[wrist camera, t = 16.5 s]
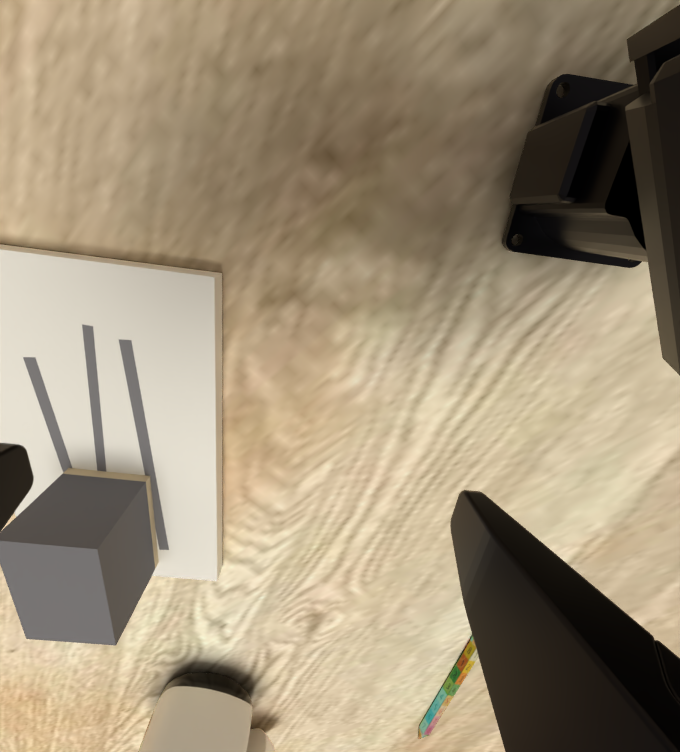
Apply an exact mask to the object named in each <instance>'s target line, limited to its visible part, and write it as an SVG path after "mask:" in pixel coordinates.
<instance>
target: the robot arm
mask: <svg viewBox="0 0 680 752" xmlns="http://www.w3.org/2000/svg"><path fill="white" fill-rule="evenodd" d="M627 45H628V52H629V59H630V62H632V61H634V62H635V69H636V77H637V84H636V85H630V84H624V83H618V82H612V81H607V80H601V79H595V78H589V77H583V76H577V75H571V74H563V75H561V76H559V77H557V78H556V79H554V80H552V81H551V83H550V84H549V85H548V87H547V89H546V91H545V94H544V98H543V101H542V105H541V108H540V111H539V115H538V118H537V122H536V125H535V127H534V128H533V129H532V130H531V131H529V132H528V134H527V137H526V141H525V144H524V148H523V151H522V155H521V158H520V162H519V165H518V169H517V172H516V176H515V180H514V183H513V187H512V190H511V194H510V200H511V202H512V204H513V205H512V208H511V211H510V215H509V218H508V222H507V225H506V229H505V232H504V236H503V241H502V243H503V246H504V247H505V249H507V250H509V251H513V252H520V253H527V254H534V255H541V256H549V257H556V258H563V259H570V260H577V261H585V262H592V263H599V264H606V265H613V266H620V267H628V268H632V267H635V266H638V265H639V264H640V263H641V262H642V261H643V262H648V265H649V271H650V278H651V284H652V291H653V298H654V304H655V311H656V318H657V324H658V331H659V337H660V344H661V351H662V357H663V359H664V360H665V361H666V362H667V363H668V364H669V365H670V366H671V367H672V368H673V369H674V370H675V371H676V372H677V373H678V374H679V375H680V5H679V6H677V7H676V8H674V9H673V10H671V11H670V12H668V13H666V14H665V15H663V16H662V17H660V18H659V19H657V20H656V21H654V22H653V23H651V24H650V25H648V26H647V27H645V28H644V29H642V30H641V31H639V32H637V33H636V34H634V35H633V36H631V37H630V38H628V39H627ZM559 85H561V86H562V87H563V88H564V95H563V97H562V98H560V97H558V96H557V94H556V91H557V87H558V86H559ZM516 234H518V236H519V241H518V243H517V244H515V245H513V244H512V238H513V236H514V235H516ZM628 259H630V260H628ZM33 481H34V476H33V472H32V468H31V464H30V461H29V457H28V453H27V450H26V448H25V447H24V446H22V445H19V444H11V443H0V532H1V530H2V529H3V527H4V526H5V525H6V523H7V522H8V520H9V519H10V518H11V516H12V515H13V513H14V512H15V511H16V509H17V508H18V506H19V505H20V503H21V502H22V501H23V499H24V498H25V496H26V495H27V494H28V492H29V491H30V489H31V487H32V485H33ZM451 534H452V540H453V545H454V551H455V557H456V563H457V568H458V574H459V580H460V585H461V591H462V596H463V601H464V605H465V609H466V613H467V617H468V620H469V624H470V627H471V631H472V635H473V638H474V642H475V645H476V649H477V652H478V656H479V659H480V663H481V666H482V670H483V674H484V677H485V681H486V684H487V688H488V691H489V695H490V698H491V702H492V705H493V709H494V713H495V716H496V720H497V723H498V727H499V730H500V734H501V737H502V741H503V744H504V748H505V752H680V658H679V657H678V656H676V655H675V654H674V653H673V652H672V651H670V650H669V649H668V648H667V647H666V646H664V645H663V644H662V643H661V642H660V641H658V640H654V637H653V636H652V635H651V634H650V633H649V632H648V631H646V630H645V629H644V628H643V627H642V626H640V625H639V624H638V623H637V622H636V621H635V620H633V619H632V618H631V617H630V616H629V615H627V614H626V613H625V612H624V611H623V610H621V609H620V608H619V607H618V606H617V605H615V604H614V603H613V602H612V601H611V600H610V599H608V598H607V597H606V596H605V595H604V594H602V593H601V592H600V591H599V590H598V589H596V588H595V587H594V586H593V585H592V584H591V583H589V582H588V581H587V580H586V579H585V578H583V577H582V576H581V575H580V574H579V573H577V572H576V571H575V570H574V569H573V568H571V567H570V566H569V565H568V564H567V563H566V562H564V561H563V560H562V559H561V558H560V557H558V556H557V555H556V554H555V553H554V552H552V551H551V550H550V549H549V548H548V547H546V546H545V545H544V544H543V543H542V542H541V541H539V540H538V539H537V538H536V537H535V536H533V535H532V534H531V533H530V532H529V531H527V530H526V529H525V528H524V527H523V526H521V525H520V524H519V523H518V522H517V521H516V520H514V519H513V518H512V517H511V516H510V515H508V514H507V513H506V512H505V511H504V510H502V509H501V508H500V507H499V506H498V505H496V504H495V503H494V502H493V501H492V500H491V499H489V498H488V497H487V496H486V495H485V494H483V493H482V492H478V491H469V490H464V491H462V492H461V493H460V494H459V497H458V500H457V503H456V506H455V509H454V512H453V515H452V518H451Z"/></svg>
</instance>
